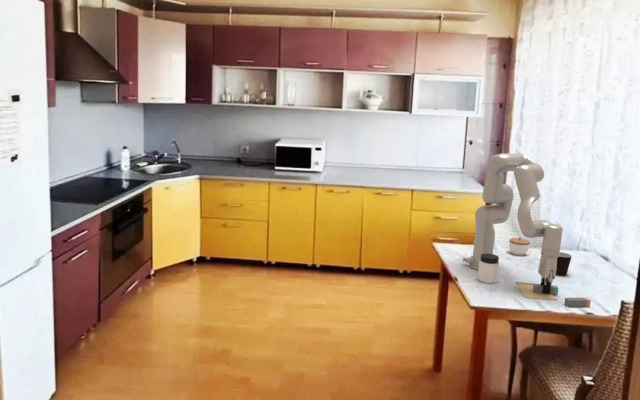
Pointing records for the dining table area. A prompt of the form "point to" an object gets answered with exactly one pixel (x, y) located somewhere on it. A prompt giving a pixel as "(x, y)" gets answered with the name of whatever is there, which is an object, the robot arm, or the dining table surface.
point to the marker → (539, 289)
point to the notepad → (528, 292)
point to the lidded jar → (519, 246)
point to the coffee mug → (563, 264)
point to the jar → (488, 268)
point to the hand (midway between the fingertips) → (544, 291)
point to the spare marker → (577, 302)
